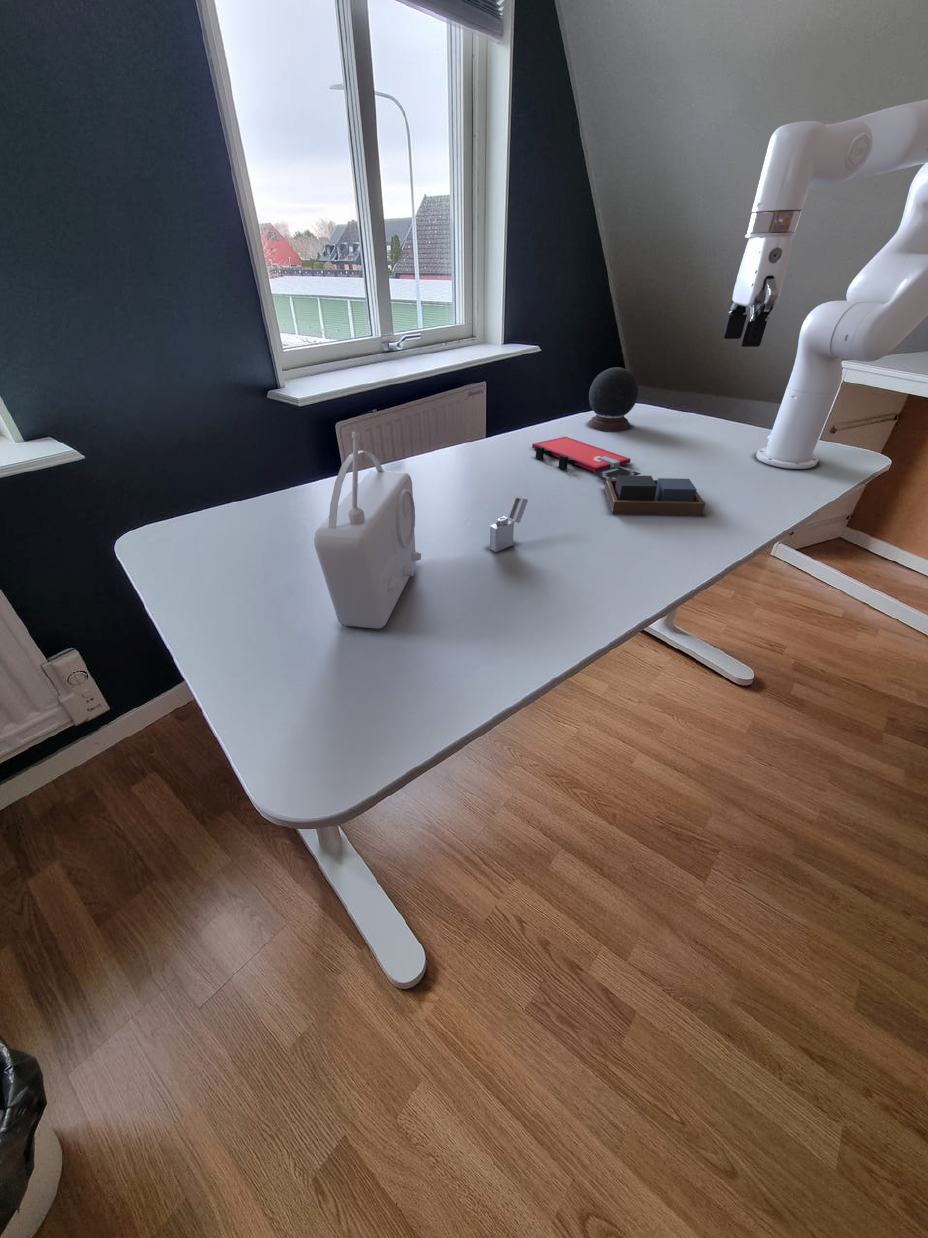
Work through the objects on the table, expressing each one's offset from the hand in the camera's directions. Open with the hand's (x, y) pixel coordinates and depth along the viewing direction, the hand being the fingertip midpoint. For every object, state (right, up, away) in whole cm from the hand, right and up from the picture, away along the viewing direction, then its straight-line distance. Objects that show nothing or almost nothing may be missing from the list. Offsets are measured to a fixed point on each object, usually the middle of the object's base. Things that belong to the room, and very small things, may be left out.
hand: (740, 342), depth 93 cm
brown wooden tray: (-15, -29, +6) cm, 33 cm away
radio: (-64, -49, -19) cm, 82 cm away
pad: (-11, -29, +5) cm, 31 cm away
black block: (-18, -28, +6) cm, 34 cm away
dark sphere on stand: (-11, +3, +49) cm, 50 cm away
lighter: (-44, -39, -7) cm, 60 cm away
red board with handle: (-23, -15, +25) cm, 38 cm away
